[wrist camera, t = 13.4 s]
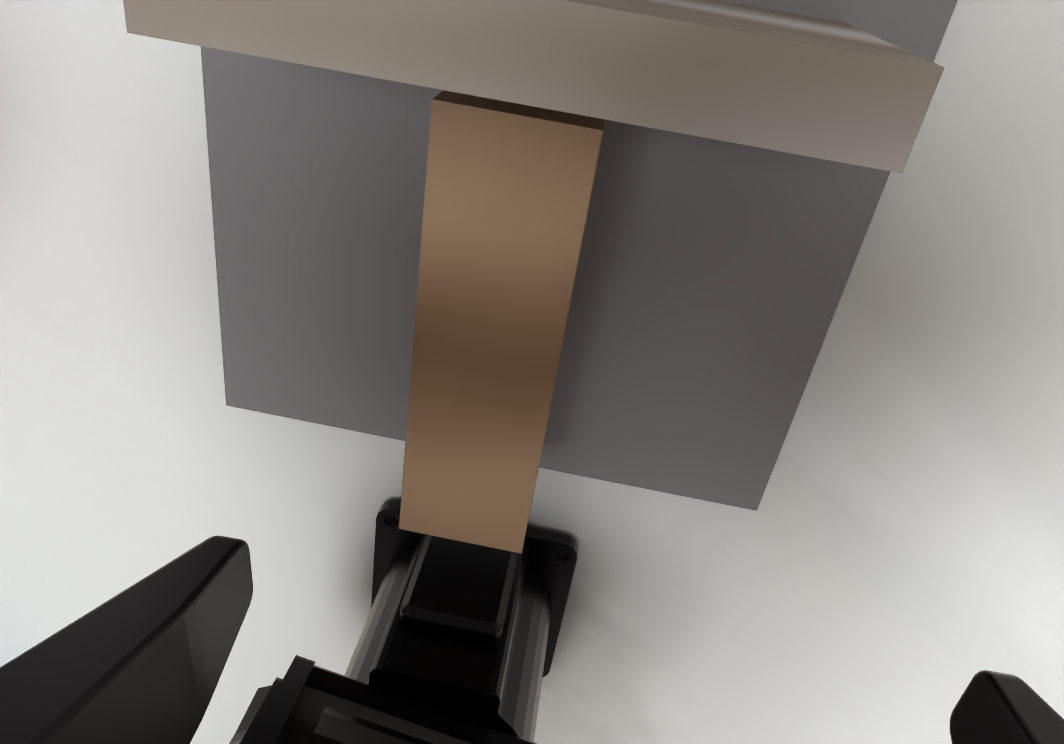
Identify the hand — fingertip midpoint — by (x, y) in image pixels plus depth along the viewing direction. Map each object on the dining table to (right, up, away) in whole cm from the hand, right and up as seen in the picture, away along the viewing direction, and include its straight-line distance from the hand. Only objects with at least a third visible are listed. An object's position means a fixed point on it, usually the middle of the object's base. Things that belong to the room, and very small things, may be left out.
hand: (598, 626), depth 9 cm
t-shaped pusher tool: (-1, +6, +10) cm, 12 cm away
